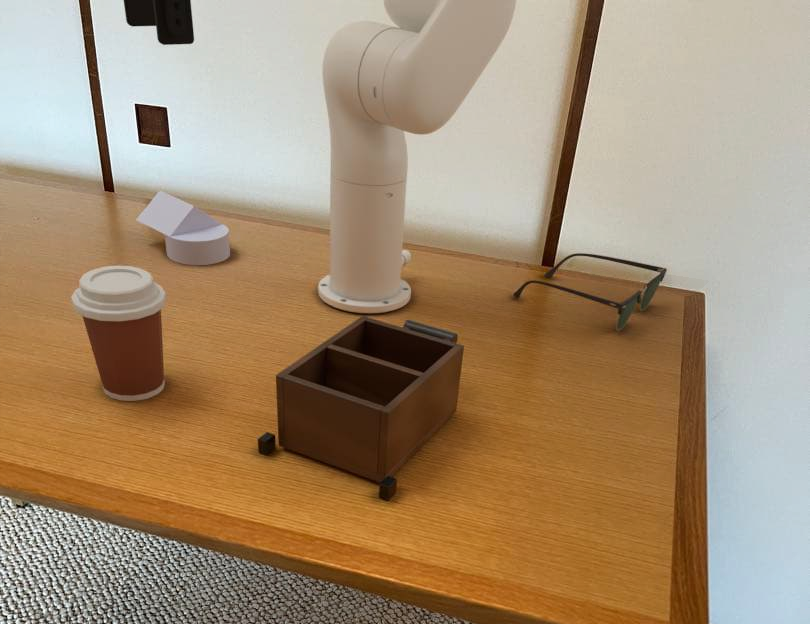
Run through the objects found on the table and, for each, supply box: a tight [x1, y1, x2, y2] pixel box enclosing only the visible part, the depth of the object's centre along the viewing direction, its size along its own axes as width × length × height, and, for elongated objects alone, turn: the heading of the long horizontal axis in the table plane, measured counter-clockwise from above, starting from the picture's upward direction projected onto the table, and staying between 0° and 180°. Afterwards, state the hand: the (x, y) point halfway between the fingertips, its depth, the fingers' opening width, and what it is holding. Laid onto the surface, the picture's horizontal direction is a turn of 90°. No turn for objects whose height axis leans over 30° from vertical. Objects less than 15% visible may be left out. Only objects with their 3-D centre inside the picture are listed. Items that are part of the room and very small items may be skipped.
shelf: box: [275, 315, 465, 484], centre depth 83 cm, size 21×12×8 cm, turn 152°
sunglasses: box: [512, 252, 668, 331], centre depth 112 cm, size 16×17×5 cm
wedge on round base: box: [135, 190, 231, 266], centre depth 117 cm, size 9×7×13 cm
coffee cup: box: [70, 265, 167, 402], centre depth 84 cm, size 9×9×12 cm
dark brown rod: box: [257, 431, 398, 502], centre depth 78 cm, size 2×15×2 cm, turn 62°
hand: (159, 34), depth 77 cm, fingers open, 9 cm apart
